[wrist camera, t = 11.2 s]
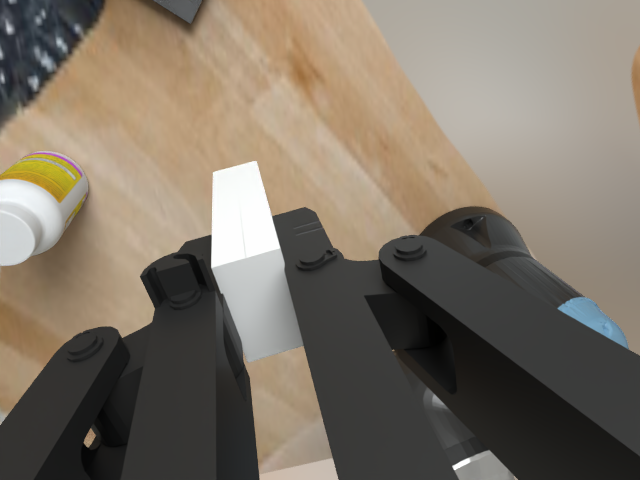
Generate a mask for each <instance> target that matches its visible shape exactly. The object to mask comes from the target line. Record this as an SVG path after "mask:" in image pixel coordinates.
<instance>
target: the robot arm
mask: <svg viewBox="0 0 640 480" xmlns="http://www.w3.org/2000/svg"><path fill="white" fill-rule="evenodd" d="M140 278H141V280H142V282H143V284H144V286H145V288H146V290H147V292H148V294H149V297H150V299H151V301H152V303H153V305H154V307H155V311H154V316H153V321H152V323H150V324H149V325H147V326H145V327H143V328H142V329H140V330H138V331H136V332H134V333H132V334H130V335H128V336H126V337H124V338H122V337H121V335H120V334H119V332H118V330H117V329H115V328H113V327H98V328H94V329H89V330H86V331H84V332H83V333H79V334H77V335H76V336H74V337H73V338H72V339H71V340H69V341H68V342H66V343H65V344H64V345H63V346H62V347H61V348H60V349H59V350H58V351H57V352H56V353H55V354H54V355H53V357H52V358H51V359H50V361H49V362H48V363H47V365H46V366H45V367H44V369H43V370H42V371H41V373H40V374H39V375H38V376H37V378H36V379H35V380H34V382H33V383H32V384H31V386H30V387H29V388H28V390H27V391H26V392H25V394H24V395H23V396H22V397H21V399H20V400H19V401H18V403H17V404H16V405H15V407H14V408H13V409H12V411H11V412H10V413H9V414H8V416H7V417H6V418H5V420H4V421H3V422H2V424H1V425H0V480H259V470H258V459H257V449H256V438H255V428H254V418H253V407H252V397H251V387H250V378H249V375H248V372H247V370H246V367H245V365H244V362H243V352H244V354H245V357H246V360H247V362H248V363H249V362H252V361H255V360H258V359H262V358H265V357H268V356H272V355H275V354H278V353H281V352H285V351H288V350H291V349H294V348H298V347H301V346H304V348H305V352H306V356H307V360H308V364H309V368H310V372H311V375H312V379H313V383H314V387H315V391H316V395H317V398H318V402H319V406H320V410H321V414H322V418H323V422H324V425H325V429H326V433H327V437H328V441H329V445H330V448H331V452H332V456H333V460H334V464H335V468H336V471H337V475H338V479H339V480H515V479H514V476H515V477H516V478H517V479H518V480H640V356H639V355H638V354H636V353H634V352H632V351H630V350H629V348H628V343H627V340H626V337H625V335H624V333H623V332H622V330H621V329H620V328H619V326H618V325H617V324H616V323H615V322H614V321H612V320H611V319H610V318H609V317H608V316H607V315H605V314H604V313H603V312H602V311H601V310H600V309H599V307H598V306H597V304H596V303H595V302H593V301H592V300H590V299H589V298H586V297H584V296H583V295H582V294H580V293H579V292H578V291H576V290H575V289H573V288H572V287H571V286H570V285H568V284H567V283H565V282H564V281H563V280H562V279H560V278H559V277H558V276H556V275H555V274H554V273H552V272H551V271H550V270H548V269H547V268H546V267H544V266H543V265H542V264H540V263H539V262H538V261H536V260H535V259H534V258H532V256H531V254H530V252H529V250H528V248H527V247H526V245H525V243H524V241H523V239H522V237H521V235H520V233H519V232H518V230H517V229H516V227H515V226H514V225H513V224H512V223H511V222H510V221H509V220H507V219H506V218H504V217H503V216H502V215H500V214H499V213H497V212H495V211H493V210H491V209H488V208H484V207H464V208H459V209H456V210H453V211H451V212H448V213H446V214H444V215H442V216H441V217H439V218H438V219H436V220H435V221H433V222H432V223H431V224H430V225H429V226H427V227H426V228H425V229H424V231H423V232H422V233H421V234H420V235H419V236H417V235H409V236H402V237H400V238H397V239H394V240H391V241H390V242H388V243H386V244H385V245H384V246H383V247H382V248H381V249H380V251H379V260H372V261H352V260H347V259H344V257H343V255H342V253H341V252H340V251H339V250H338V249H335V248H333V246H332V244H331V242H330V240H329V238H328V236H327V234H326V232H325V230H324V228H323V226H322V224H321V222H320V221H319V218H318V216H317V214H316V212H314V211H312V210H310V209H308V208H306V207H304V208H300V209H297V210H293V211H289V212H286V213H282V214H279V215H275V216H272V214H271V210H270V207H269V203H268V200H267V196H266V193H265V189H264V186H263V182H262V179H261V175H260V172H259V169H258V165H257V162H256V161H253V162H249V163H245V164H242V165H238V166H234V167H231V168H227V169H223V170H219V171H216V172H213V201H212V235H209V236H205V237H202V238H198V239H194V240H191V241H187V242H185V244H184V245H183V246H182V247H181V248H180V250H179V251H178V252H176V253H172V254H170V255H167V256H164V257H162V258H160V259H158V260H157V261H155V262H153V263H151V264H150V265H149V266H148V267H147V268H146V269H144V271H143V272H142V274H141V276H140ZM242 349H243V350H242ZM392 350H395V351H392ZM90 428H91V429H92V430H93V432H94V433H95V435H96V437H95V439H94V440H93V442H92V444H91V445H90V446H89V448H88V447H86V446H85V444H84V443H83V442H84V439H85V437H86V435H87V433H88V432H89V430H90Z"/></svg>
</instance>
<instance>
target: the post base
mask: <svg viewBox="0 0 640 480" xmlns="http://www.w3.org/2000/svg"><path fill="white" fill-rule="evenodd" d="M153 1H155V2H157V3H158V4H160V5H161V6H163V7H164V8H166V9H168V10H169V11H171V12H172V13H174V14H176V15H177V16H179V17H180V18H182V19H183V20H185V21H187V22H188V23H190V24H191V23H192V21H193V19H194V17H195V15H196V13H197V11H198V9H199V7H200V5H201V3H202V0H153Z"/></svg>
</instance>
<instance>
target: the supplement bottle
mask: <svg viewBox="0 0 640 480" xmlns="http://www.w3.org/2000/svg"><path fill="white" fill-rule="evenodd" d="M87 195H88V181H87V178H86V176H85V174H84V172H83V170H82V169H81V168H80V166H79V165H78V164H77V163H76V162H74V161H73V160H72V159H70V158H69V157H67V156H65V155H62V154H60V153H56V152H52V151H38V152H34V153H31V154H29V155H27V156H25V157H23V158H22V159H20V160H19V161H18V162H17V163H15V164H14V165H13V166H12V167H10V168H9V169H8V170H6V171H5V172H4V173H3V174H1V175H0V266H11V265H16V264H19V263H22V262H24V261H25V260H27V259H28V258H29V257H30V256H34V255H38V254H41V253H43V252H45V251H47V250H49V249H50V248H52V247H53V246H54V245H55V244H56V243H57V242H58V240H59V239H60V238H61V236H62V235H63V233H64V231H65V230H66V229H67V227H68V226H69V224H70V223H71V221H72V220H73V218H74V217H75V215H76V214H77V213H78V211H79V210H80V208H81V207H82V205H83V203H84V202H85V200H86V198H87Z"/></svg>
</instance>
